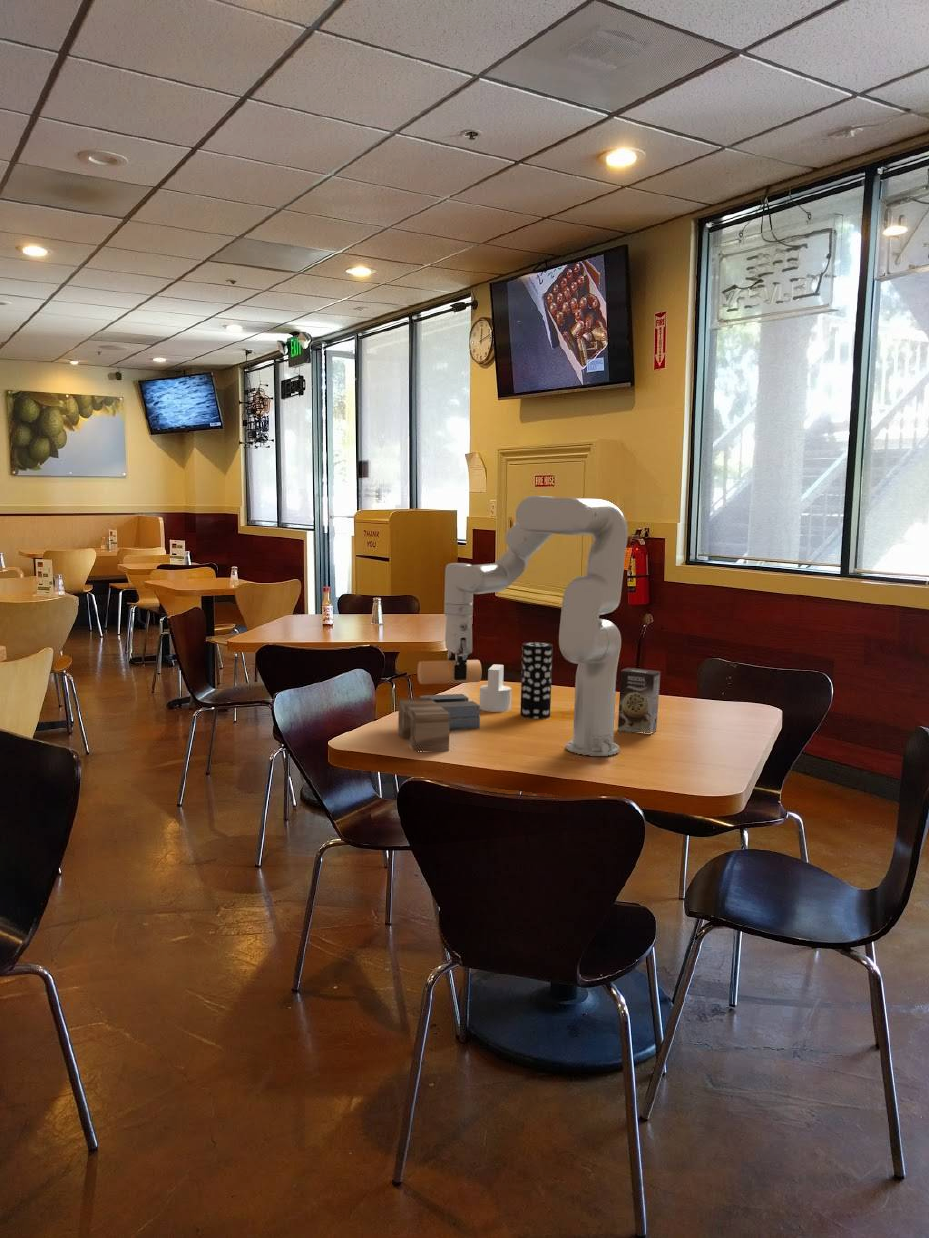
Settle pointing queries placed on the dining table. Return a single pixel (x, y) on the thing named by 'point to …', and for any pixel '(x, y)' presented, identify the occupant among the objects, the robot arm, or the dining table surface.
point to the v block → (458, 710)
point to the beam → (424, 724)
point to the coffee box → (638, 700)
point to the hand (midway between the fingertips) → (456, 676)
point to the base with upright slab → (495, 691)
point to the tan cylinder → (447, 672)
